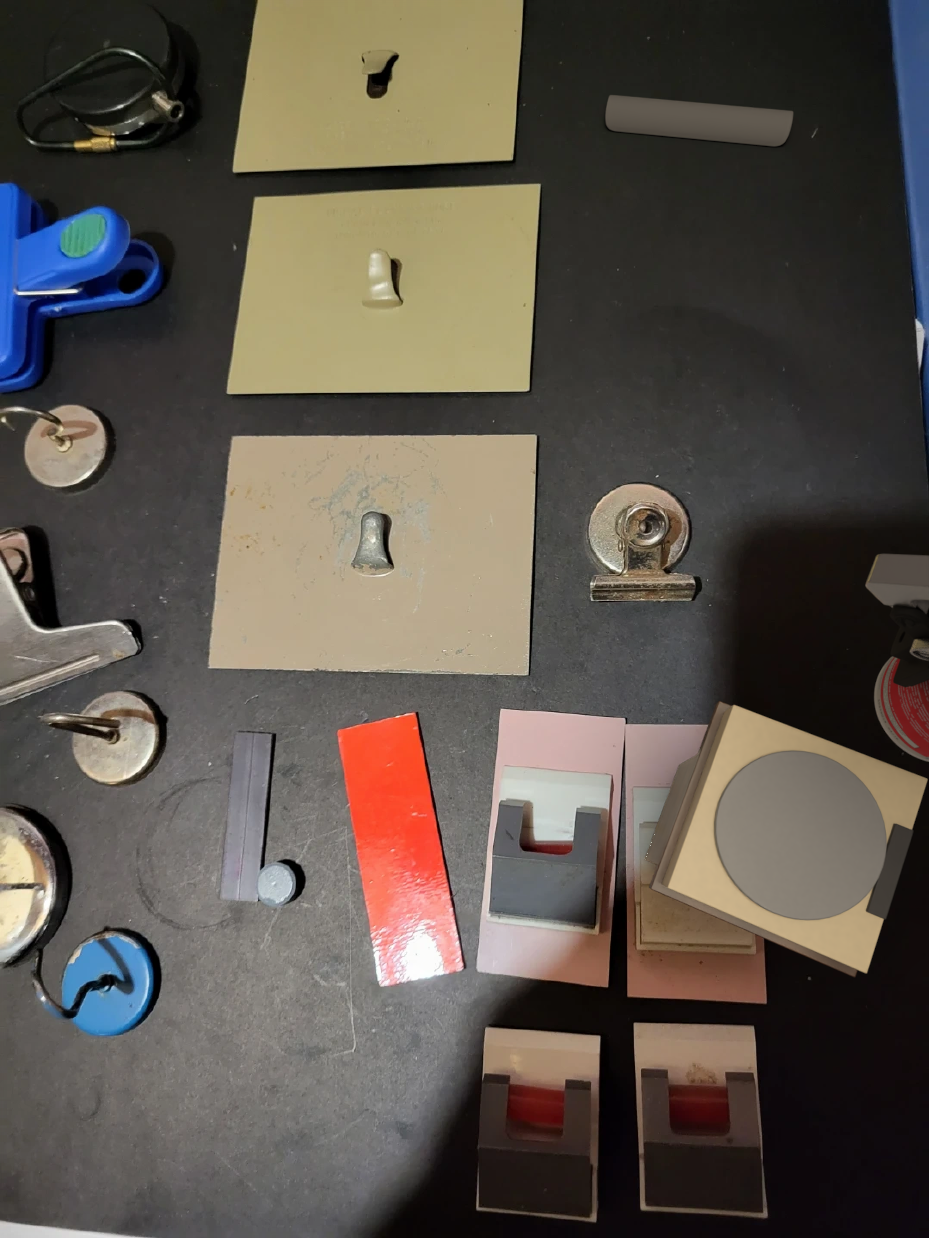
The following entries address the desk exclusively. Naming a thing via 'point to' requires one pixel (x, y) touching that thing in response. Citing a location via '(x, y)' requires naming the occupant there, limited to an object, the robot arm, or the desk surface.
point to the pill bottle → (903, 711)
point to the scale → (797, 836)
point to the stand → (671, 830)
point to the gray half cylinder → (698, 120)
